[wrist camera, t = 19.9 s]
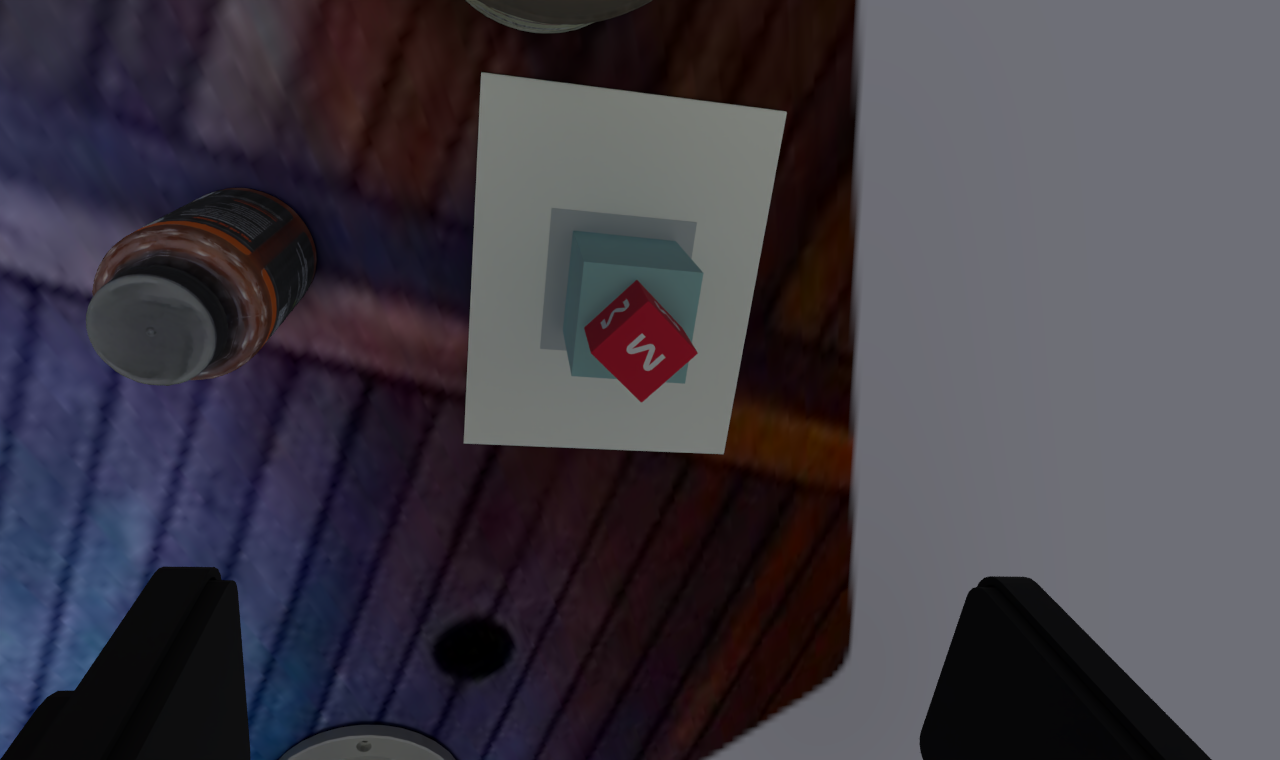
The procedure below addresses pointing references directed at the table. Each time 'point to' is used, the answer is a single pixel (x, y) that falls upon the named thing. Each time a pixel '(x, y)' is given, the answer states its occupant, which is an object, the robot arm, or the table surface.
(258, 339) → the supplement bottle
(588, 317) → the teal block
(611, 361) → the red letter cube
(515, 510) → the table surface
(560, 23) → the coffee can
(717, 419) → the pad
